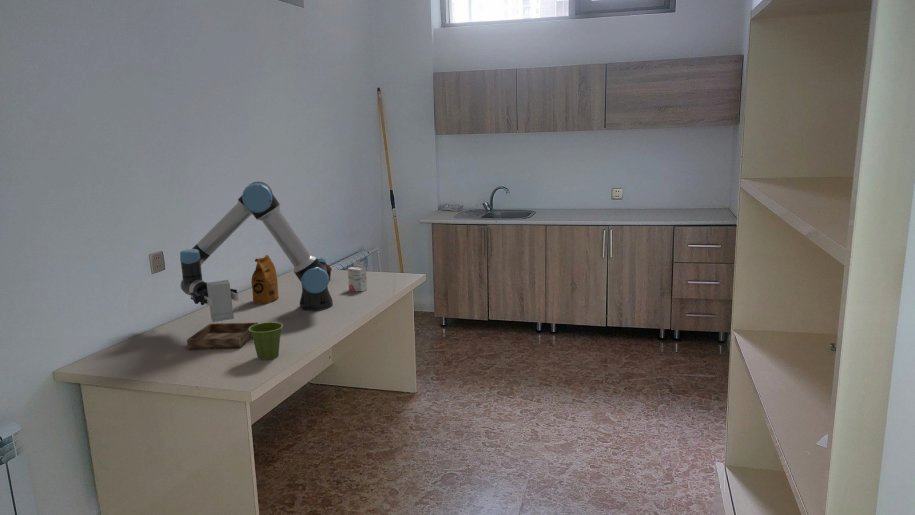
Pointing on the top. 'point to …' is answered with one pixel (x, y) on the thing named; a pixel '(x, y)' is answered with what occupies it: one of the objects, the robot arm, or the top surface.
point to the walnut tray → (221, 336)
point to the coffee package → (264, 281)
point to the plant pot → (266, 339)
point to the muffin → (328, 270)
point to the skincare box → (220, 300)
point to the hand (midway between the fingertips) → (224, 300)
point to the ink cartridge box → (357, 277)
